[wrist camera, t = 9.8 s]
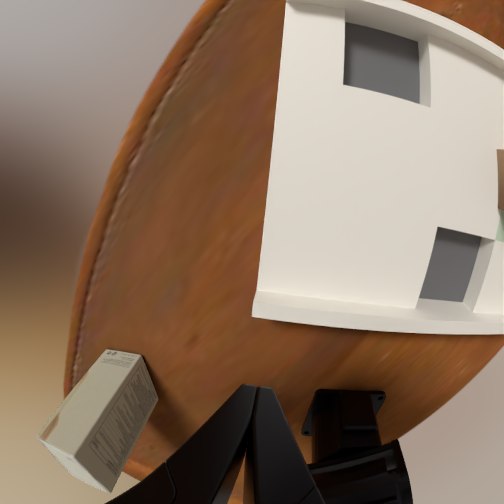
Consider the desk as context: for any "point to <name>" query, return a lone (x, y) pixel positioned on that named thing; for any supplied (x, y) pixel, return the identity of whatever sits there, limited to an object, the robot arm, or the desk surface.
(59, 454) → the skincare box
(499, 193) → the block
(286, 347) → the desk surface
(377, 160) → the platform
